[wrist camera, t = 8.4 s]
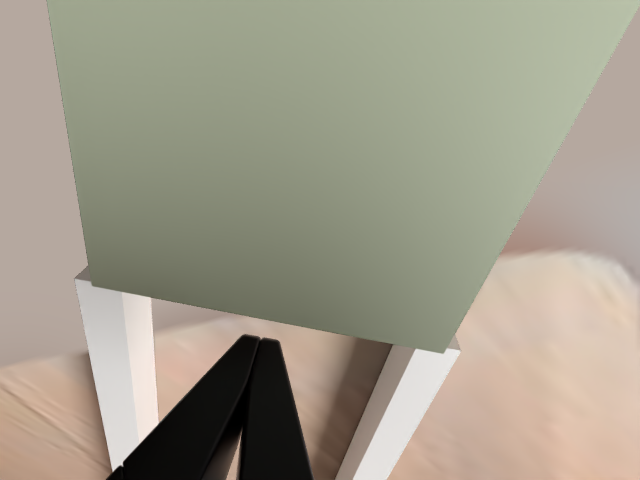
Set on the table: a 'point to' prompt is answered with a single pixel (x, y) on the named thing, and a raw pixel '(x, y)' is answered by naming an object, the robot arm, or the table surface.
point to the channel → (141, 394)
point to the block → (319, 148)
